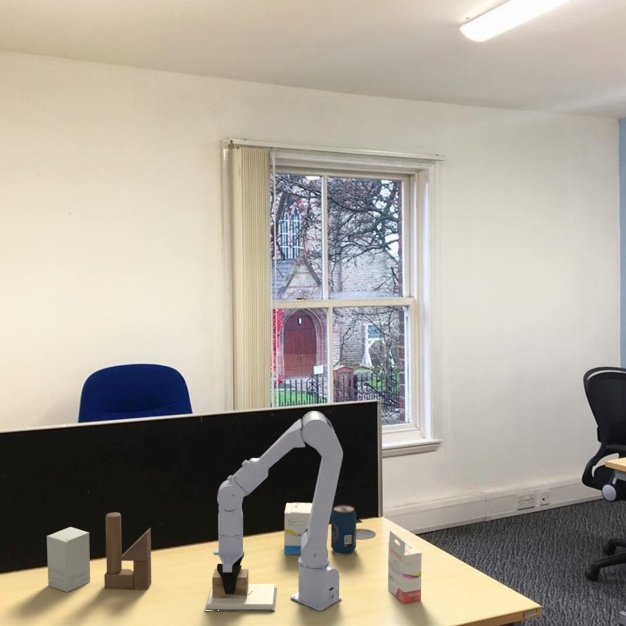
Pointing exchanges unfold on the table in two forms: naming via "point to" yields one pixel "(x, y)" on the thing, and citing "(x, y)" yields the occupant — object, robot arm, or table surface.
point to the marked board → (246, 600)
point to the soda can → (343, 529)
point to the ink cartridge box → (404, 570)
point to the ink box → (295, 525)
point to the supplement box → (68, 559)
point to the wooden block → (126, 558)
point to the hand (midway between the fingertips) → (231, 588)
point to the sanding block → (241, 585)
